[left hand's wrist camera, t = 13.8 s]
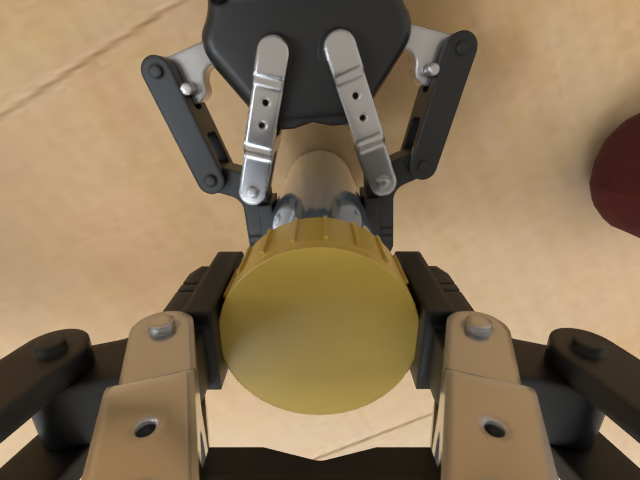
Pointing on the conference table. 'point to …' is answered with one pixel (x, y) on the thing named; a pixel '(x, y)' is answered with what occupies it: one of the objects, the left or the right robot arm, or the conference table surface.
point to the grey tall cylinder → (319, 192)
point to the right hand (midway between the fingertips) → (323, 262)
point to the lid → (318, 318)
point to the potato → (619, 178)
